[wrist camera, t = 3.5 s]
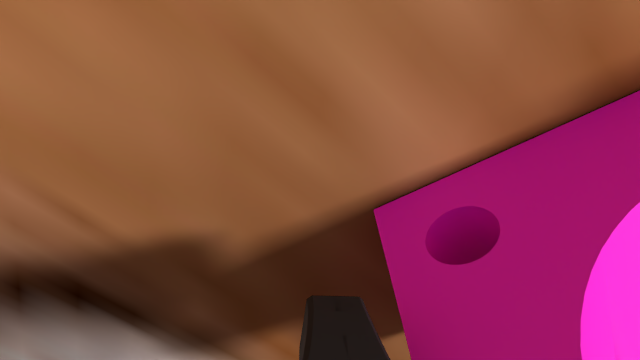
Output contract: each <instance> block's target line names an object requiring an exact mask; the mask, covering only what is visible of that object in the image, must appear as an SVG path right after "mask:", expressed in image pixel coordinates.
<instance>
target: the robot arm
mask: <svg viewBox="0 0 640 360" xmlns="http://www.w3.org/2000/svg"><path fill="white" fill-rule="evenodd" d="M299 360H390V358H389V356H388V354H387V352H386V350H385V348H384V346H383V344H382V342H381V340H380V338H379V336H378V334H377V332H376V330H375V328H374V325H373V323H372V321H371V319H370V316H369V314H368V312H367V309H366V307H365V304H364V302H363V300H362V299H361V298H360V297H349V296H311V297H309V298H308V299H307V302H306V308H305V315H304V321H303V328H302V335H301V341H300V352H299Z"/></svg>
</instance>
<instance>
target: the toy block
mask: <svg viewBox="0 0 640 360" xmlns="http://www.w3.org/2000/svg"><path fill="white" fill-rule="evenodd" d="M374 214H375V218H376V222H377V226H378V230H379V234H380V238H381V242H382V246H383V250H384V254H385V258H386V261H387V265H388V269H389V273H390V277H391V281H392V285H393V289H394V293H395V297H396V301H397V305H398V309H399V313H400V317H401V320H402V324H403V328H404V332H405V336H406V340H407V344H408V348H409V352H410V356H411V360H640V91H638V92H635V93H633V94H631V95H629V96H627V97H624V98H622V99H620V100H618V101H615V102H613V103H611V104H609V105H606V106H604V107H602V108H600V109H598V110H595V111H593V112H591V113H589V114H586V115H584V116H582V117H580V118H577V119H575V120H573V121H571V122H568V123H566V124H564V125H562V126H560V127H557V128H555V129H553V130H551V131H548V132H546V133H544V134H542V135H539V136H537V137H535V138H533V139H530V140H528V141H526V142H524V143H522V144H519V145H517V146H515V147H513V148H510V149H508V150H506V151H504V152H501V153H499V154H497V155H495V156H492V157H490V158H488V159H486V160H484V161H481V162H479V163H477V164H475V165H472V166H470V167H468V168H466V169H463V170H461V171H459V172H457V173H455V174H452V175H450V176H448V177H446V178H443V179H441V180H439V181H437V182H434V183H432V184H430V185H428V186H425V187H423V188H421V189H419V190H417V191H414V192H412V193H410V194H408V195H405V196H403V197H401V198H399V199H396V200H394V201H392V202H390V203H387V204H385V205H383V206H381V207H379V208H376V209H374Z"/></svg>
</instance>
